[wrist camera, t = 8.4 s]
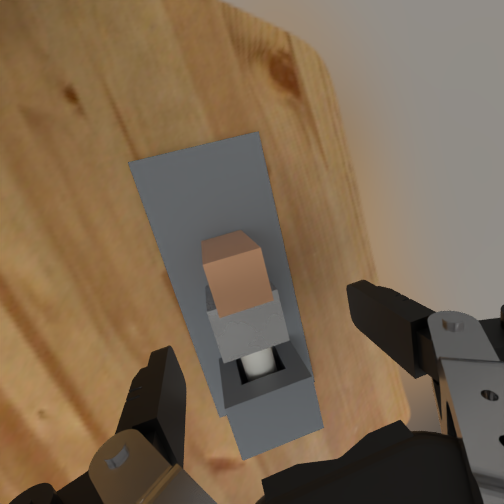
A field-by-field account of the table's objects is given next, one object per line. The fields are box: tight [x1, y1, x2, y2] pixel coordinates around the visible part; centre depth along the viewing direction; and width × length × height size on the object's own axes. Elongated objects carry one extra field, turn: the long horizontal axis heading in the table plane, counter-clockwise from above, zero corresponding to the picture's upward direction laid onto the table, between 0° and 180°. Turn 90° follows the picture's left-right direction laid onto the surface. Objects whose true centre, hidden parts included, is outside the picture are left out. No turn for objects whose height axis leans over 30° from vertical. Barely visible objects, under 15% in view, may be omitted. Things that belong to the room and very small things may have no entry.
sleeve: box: [205, 280, 289, 363], centre depth 25 cm, size 5×6×6 cm
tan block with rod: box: [201, 230, 278, 382], centre depth 24 cm, size 18×4×9 cm, turn 15°
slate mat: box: [128, 132, 315, 417], centre depth 28 cm, size 29×12×1 cm, turn 15°
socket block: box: [219, 340, 324, 460], centre depth 27 cm, size 6×8×7 cm
